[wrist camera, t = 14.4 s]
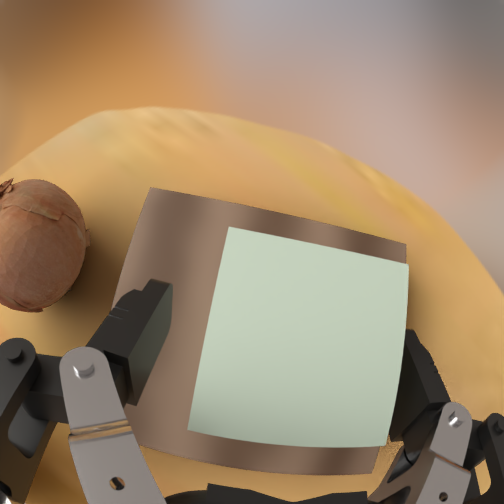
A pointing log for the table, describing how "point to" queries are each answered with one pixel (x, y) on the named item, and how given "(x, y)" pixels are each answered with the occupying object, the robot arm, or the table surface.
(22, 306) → the onion
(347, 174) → the table surface
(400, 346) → the sage block
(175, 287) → the walnut base
